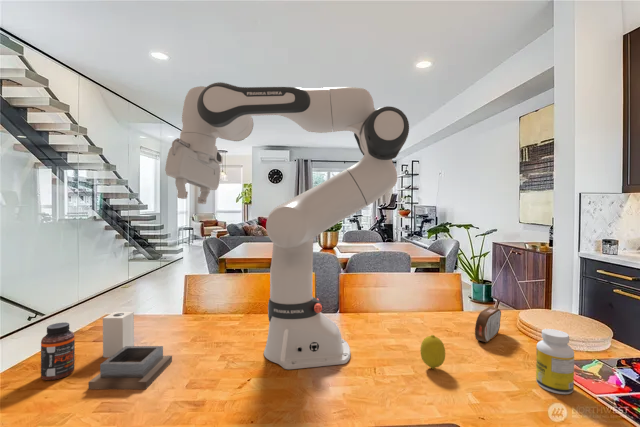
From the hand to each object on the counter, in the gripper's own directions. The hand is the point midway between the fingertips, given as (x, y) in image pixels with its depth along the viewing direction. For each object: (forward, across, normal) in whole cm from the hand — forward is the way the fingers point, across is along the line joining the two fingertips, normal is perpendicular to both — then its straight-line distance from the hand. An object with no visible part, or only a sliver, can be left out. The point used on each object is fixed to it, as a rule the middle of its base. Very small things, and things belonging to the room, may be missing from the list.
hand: (192, 201), depth 83 cm
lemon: (+37, +6, -61) cm, 72 cm away
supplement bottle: (+42, -9, +23) cm, 49 cm away
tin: (+34, +27, -81) cm, 92 cm away
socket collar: (+40, -7, +6) cm, 41 cm away
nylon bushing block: (+40, +2, +18) cm, 44 cm away
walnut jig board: (+41, -7, +6) cm, 42 cm away
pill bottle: (+37, +2, -85) cm, 93 cm away
